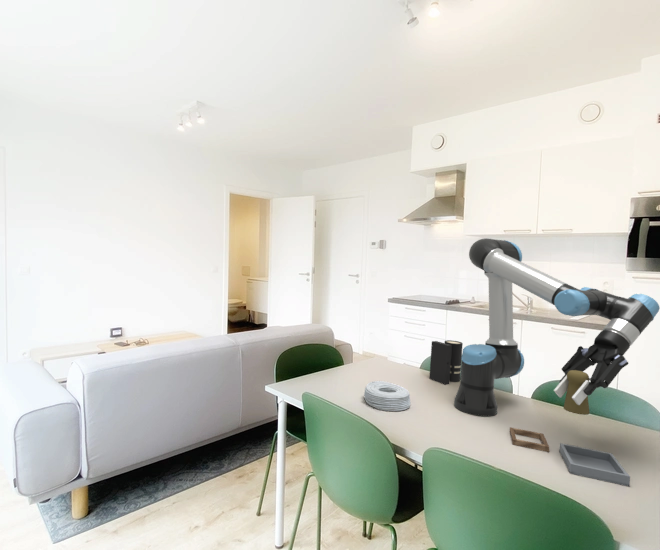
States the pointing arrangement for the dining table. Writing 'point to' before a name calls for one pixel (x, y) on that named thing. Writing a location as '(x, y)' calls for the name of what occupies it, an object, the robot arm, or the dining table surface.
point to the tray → (593, 464)
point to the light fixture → (446, 361)
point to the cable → (387, 396)
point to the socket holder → (532, 445)
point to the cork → (574, 384)
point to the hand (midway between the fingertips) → (566, 397)
